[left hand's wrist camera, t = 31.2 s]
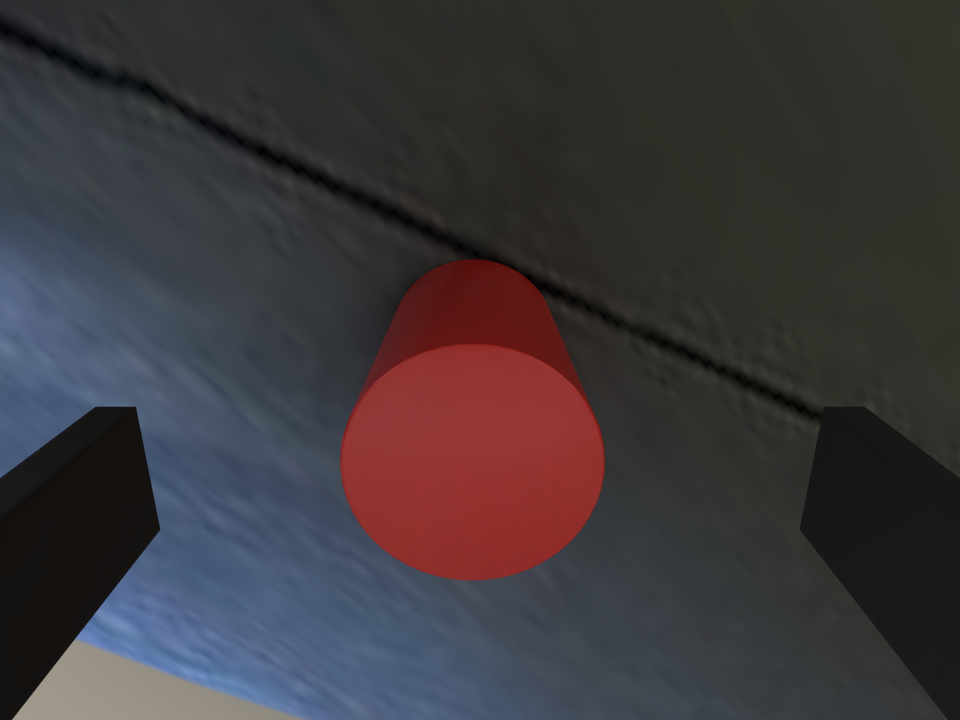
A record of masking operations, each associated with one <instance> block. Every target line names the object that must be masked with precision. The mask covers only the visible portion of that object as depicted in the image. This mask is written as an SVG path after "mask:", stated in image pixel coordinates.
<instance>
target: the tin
mask: <svg viewBox="0 0 960 720" xmlns="http://www.w3.org/2000/svg"><path fill="white" fill-rule="evenodd" d="M340 470H341V479H342V484H343V488H344V491H345V495H346V498H347V500H348V503H349V505H350V507H351V510H352V512H353V513H354V515H355V517H356V518H357V520H358V522H359V523H360V525H361V526H362V527H363V529H364V530H365V531H366V532H367V534H368V535H369V536H370V537H371V538H372V539H373V540H374V541H375V542H376V543H377V544H378V545H379V546H380V547H381V548H382V549H384V550H385V551H386V552H388V553H389V554H390V555H392V556H393V557H394V558H396V559H398V560H400V561H401V562H403V563H405V564H406V565H408V566H411V567H413V568H415V569H418V570H420V571H422V572H426V573H429V574H432V575H435V576H440V577H445V578H450V579H459V580H487V579H494V578H501V577H505V576H509V575H513V574H517V573H519V572H522V571H525V570H527V569H530V568H532V567H534V566H536V565H538V564H540V563H542V562H544V561H546V560H547V559H549V558H550V557H552V556H553V555H555V554H556V553H558V552H559V551H560V550H561V549H562V548H564V547H565V546H566V545H567V544H568V543H569V542H570V541H571V540H572V539H573V538H574V537H575V536H576V535H577V534H578V532H579V531H580V530H581V529H582V527H583V526H584V524H585V523H586V522H587V520H588V519H589V517H590V515H591V513H592V511H593V509H594V507H595V505H596V503H597V501H598V497H599V494H600V491H601V488H602V484H603V478H604V473H605V452H604V443H603V438H602V435H601V431H600V427H599V424H598V422H597V420H596V417H595V415H594V413H593V410H592V408H591V406H590V403H589V401H588V399H587V397H586V394H585V392H584V390H583V387H582V385H581V383H580V380H579V378H578V376H577V373H576V371H575V369H574V366H573V364H572V362H571V359H570V357H569V355H568V352H567V350H566V348H565V345H564V343H563V341H562V338H561V336H560V334H559V331H558V329H557V327H556V324H555V322H554V320H553V317H552V315H551V313H550V310H549V308H548V306H547V303H546V302H545V300H544V298H543V297H542V295H541V293H540V292H539V291H538V290H537V288H536V287H535V286H534V285H533V284H532V283H531V282H530V281H529V280H528V279H527V278H525V277H524V276H523V275H521V274H520V273H518V272H517V271H515V270H513V269H511V268H509V267H507V266H505V265H502V264H499V263H496V262H492V261H487V260H478V259H470V260H460V261H454V262H450V263H447V264H444V265H441V266H439V267H437V268H435V269H433V270H431V271H430V272H428V273H426V274H425V275H423V276H422V277H421V278H420V279H419V280H417V281H416V282H415V283H414V284H413V285H412V287H411V288H410V289H409V290H408V291H407V293H406V294H405V296H404V297H403V298H402V300H401V302H400V304H399V306H398V308H397V311H396V313H395V315H394V317H393V320H392V322H391V324H390V326H389V329H388V331H387V333H386V336H385V338H384V340H383V342H382V345H381V347H380V349H379V351H378V354H377V356H376V358H375V360H374V363H373V365H372V367H371V370H370V372H369V374H368V376H367V379H366V381H365V383H364V385H363V388H362V390H361V392H360V395H359V397H358V399H357V401H356V404H355V406H354V408H353V410H352V413H351V415H350V417H349V419H348V422H347V425H346V428H345V431H344V434H343V439H342V445H341V451H340Z"/></svg>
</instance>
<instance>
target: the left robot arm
mask: <svg viewBox="0 0 960 720" xmlns="http://www.w3.org/2000/svg"><path fill="white" fill-rule="evenodd" d="M159 530H160V526H159V521H158V516H157V511H156V506H155V501H154V496H153V491H152V486H151V481H150V476H149V471H148V465H147V460H146V455H145V450H144V445H143V440H142V435H141V430H140V425H139V420H138V415H137V410H136V407H95V408H93V409H92V410H91V411H89V412H88V413H87V414H85V415H84V416H83V417H81V418H80V419H79V420H77V421H76V422H75V423H73V424H72V425H71V426H69V427H68V428H67V429H65V430H64V431H63V432H61V433H60V434H59V435H57V436H56V437H55V438H53V439H52V440H51V441H49V442H48V443H47V444H45V445H44V446H43V447H41V448H40V449H39V450H37V451H36V452H35V453H33V454H32V455H31V456H29V457H28V458H27V459H25V460H24V461H23V462H21V463H20V464H19V465H17V466H16V467H15V468H13V469H12V470H11V471H9V472H8V473H7V474H5V475H4V476H3V477H1V478H0V720H12V719H13V718H14V717H15V715H16V714H17V713H18V711H19V710H20V709H21V708H22V706H23V705H24V704H25V702H26V701H27V700H28V699H29V697H30V696H31V695H32V693H33V692H34V691H35V690H36V688H37V687H38V686H39V684H40V683H41V682H42V681H43V679H44V678H45V677H46V675H47V674H48V673H49V672H50V670H51V669H52V668H53V666H54V665H55V664H56V663H57V661H58V660H59V659H60V657H61V656H62V655H63V654H64V652H65V651H66V650H67V649H68V647H69V646H70V645H71V643H72V642H73V641H74V640H75V638H76V637H77V636H78V634H79V633H80V632H81V631H82V629H83V628H84V627H85V625H86V624H87V623H88V622H89V620H90V619H91V618H92V616H93V615H94V614H95V613H96V611H97V610H98V609H99V607H100V606H101V605H102V604H103V602H104V601H105V600H106V598H107V597H108V596H109V595H110V593H111V592H112V591H113V590H114V588H115V587H116V586H117V584H118V583H119V582H120V581H121V579H122V578H123V577H124V575H125V574H126V573H127V572H128V570H129V569H130V568H131V566H132V565H133V564H134V563H135V561H136V560H137V559H138V557H139V556H140V555H141V554H142V552H143V551H144V550H145V548H146V547H147V546H148V545H149V543H150V542H151V541H152V539H153V538H154V537H155V536H156V534H157V533H158V532H159ZM800 530H801V532H802V533H803V534H804V536H805V537H806V538H807V539H808V541H809V542H810V543H811V545H812V546H813V547H814V548H815V550H816V551H817V552H818V554H819V555H820V556H821V557H822V559H823V560H824V561H825V563H826V564H827V565H828V566H829V568H830V569H831V570H832V572H833V573H834V574H835V575H836V577H837V578H838V579H839V581H840V582H841V583H842V584H843V586H844V587H845V588H846V590H847V591H848V592H849V593H850V595H851V596H852V597H853V598H854V600H855V601H856V602H857V604H858V605H859V606H860V607H861V609H862V610H863V611H864V613H865V614H866V615H867V616H868V618H869V619H870V620H871V622H872V623H873V624H874V625H875V627H876V628H877V629H878V631H879V632H880V633H881V634H882V636H883V637H884V638H885V640H886V641H887V642H888V643H889V645H890V646H891V647H892V649H893V650H894V651H895V652H896V654H897V655H898V656H899V658H900V659H901V660H902V661H903V663H904V664H905V665H906V666H907V668H908V669H909V670H910V672H911V673H912V674H913V675H914V677H915V678H916V679H917V681H918V682H919V683H920V684H921V686H922V687H923V688H924V690H925V691H926V692H927V693H928V695H929V696H930V697H931V699H932V700H933V701H934V702H935V704H936V705H937V706H938V708H939V709H940V710H941V711H942V713H943V714H944V715H945V717H946V718H947V719H948V720H960V478H959V477H957V476H956V475H955V474H953V473H952V472H951V471H949V470H948V469H947V468H945V467H944V466H943V465H941V464H940V463H939V462H937V461H936V460H935V459H933V458H932V457H931V456H929V455H928V454H927V453H925V452H924V451H923V450H921V449H920V448H919V447H917V446H916V445H915V444H913V443H912V442H911V441H909V440H908V439H907V438H905V437H904V436H903V435H901V434H900V433H899V432H897V431H896V430H895V429H893V428H892V427H891V426H889V425H888V424H887V423H885V422H884V421H883V420H881V419H880V418H879V417H877V416H876V415H875V414H873V413H872V412H871V411H869V410H868V409H867V408H865V407H824V410H823V415H822V420H821V425H820V430H819V435H818V440H817V445H816V450H815V455H814V460H813V465H812V471H811V476H810V481H809V486H808V491H807V496H806V501H805V506H804V511H803V516H802V521H801V526H800Z"/></svg>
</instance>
